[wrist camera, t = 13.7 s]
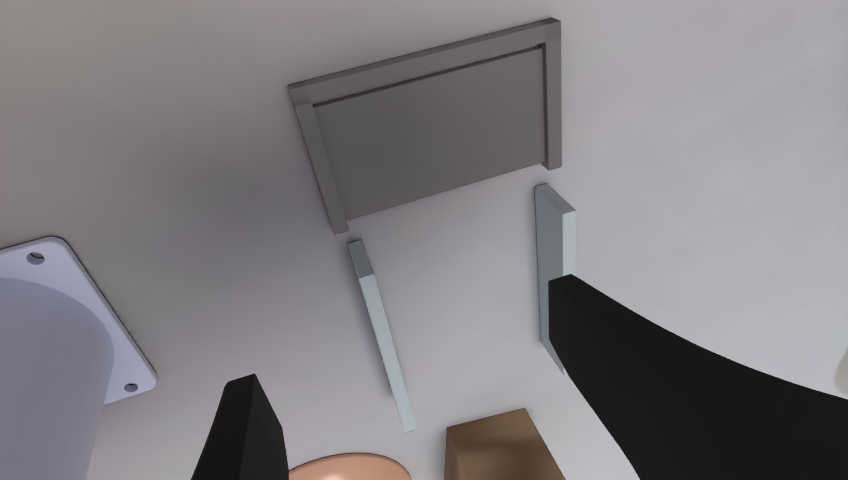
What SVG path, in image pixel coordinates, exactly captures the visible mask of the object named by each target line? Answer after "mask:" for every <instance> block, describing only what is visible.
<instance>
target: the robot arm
mask: <svg viewBox="0 0 848 480" xmlns="http://www.w3.org/2000/svg"><path fill="white" fill-rule="evenodd" d="M31 252H37V253H40V254H41V255H43V256H44V258H40V259H38V258H35V257H33V256H32V255H31V254H30V253H31ZM548 310H549V340H550V342H551V344H552V346H553V348H554V350H555V352H556V354H557V356H558V358H559V359H560V361H561V363H562V365H563V367H564V368H565V370H566V372H567V374H568V375H569V377H570V378H571V380H572V381H573V382H574V384H575V385H576V387H577V388H578V389H579V391H580V392H581V394H582V395H583V397H584V398H585V399H586V401H587V402H588V404H589V405H590V406H591V408H592V409H593V410H594V412H595V413H596V415H597V416H598V417H599V419H600V420H601V422H602V423H603V424H604V426H605V427H606V428H607V430H608V431H609V433H610V434H611V435H612V437H613V438H614V440H615V441H616V442H617V444H618V445H619V447H620V448H621V449H622V451H623V452H624V454H625V455H626V457H627V459H628V460H629V462H630V463H631V465H632V466H633V468H634V470H635V471H636V473H637V475H638V477H639V478H640V480H848V400H847V399H844V398H840V397H837V396H834V395H830V394H827V393H823V392H820V391H816V390H813V389H810V388H807V387H804V386H800V385H797V384H794V383H791V382H788V381H785V380H783V379H780V378H777V377H774V376H771V375H768V374H766V373H763V372H760V371H757V370H755V369H752V368H749V367H747V366H744V365H742V364H739V363H737V362H734V361H732V360H730V359H727V358H725V357H723V356H720V355H718V354H716V353H713V352H711V351H709V350H707V349H704V348H702V347H700V346H698V345H696V344H694V343H692V342H690V341H688V340H686V339H684V338H682V337H680V336H678V335H676V334H674V333H672V332H670V331H668V330H666V329H664V328H662V327H660V326H658V325H656V324H655V323H653V322H651V321H649V320H647V319H646V318H644V317H642V316H640V315H639V314H637V313H635V312H633V311H632V310H630V309H628V308H627V307H625V306H623V305H621V304H620V303H618V302H617V301H615V300H613V299H612V298H610V297H608V296H607V295H605V294H603V293H602V292H600V291H598V290H597V289H595V288H594V287H592V286H590V285H589V284H587V283H585V282H584V281H582V280H581V279H579V278H577V277H576V276H574V275H572V274H568V275H565V276H562V277H559V278H555V279H552V280H549V281H548ZM156 382H157V375H156V373H155V371H154V370H153V369H152V367H151V366H150V364H149V363H148V361H147V360H146V358H145V357H144V355H143V354H142V352H141V351H140V349H139V348H138V347H137V345H136V344H135V342H134V341H133V339H132V338H131V336H130V335H129V333H128V332H127V330H126V329H125V327H124V326H123V325H122V323H121V322H120V320H119V319H118V317H117V316H116V314H115V313H114V311H113V310H112V308H111V307H110V305H109V304H108V303H107V301H106V300H105V298H104V297H103V295H102V294H101V292H100V291H99V289H98V288H97V286H96V285H95V283H94V282H93V281H92V279H91V278H90V276H89V275H88V273H87V272H86V270H85V269H84V267H83V266H82V264H81V263H80V261H79V260H78V259H77V257H76V256H75V254H74V253H73V251H72V250H71V248H70V247H69V245H68V244H67V243H66V242H65V241H64V240H61V239H59V238H56V237H45V238H42V239H38V240H35V241H31V242H27V243H24V244H20V245H17V246H13V247H9V248H6V249H2V250H0V480H85V479H86V475H87V471H88V467H89V463H90V458H91V454H92V450H93V446H94V442H95V438H96V434H97V430H98V426H99V422H100V417H101V413H102V409H103V405H106V404H109V403H112V402H115V401H118V400H121V399H124V398H127V397H130V396H133V395H137V394H140V393H143V392H146V391H149V390H151V389H153V388H154V387H155V386H156ZM129 383H133V384H136V385H128V384H129ZM191 480H289V469H288V462H287V455H286V449H285V443H284V436H283V430H282V427H281V425H280V423H279V421H278V419H277V417H276V415H275V413H274V411H273V409H272V407H271V405H270V403H269V401H268V399H267V397H266V395H265V393H264V391H263V389H262V387H261V385H260V383H259V381H258V379H257V376H256V374H252V375H248V376H245V377H242V378H239V379H236V380H233V381H229V382H228V383H227V384H226V386H225V387H224V391H223V394H222V397H221V400H220V403H219V406H218V409H217V412H216V415H215V418H214V421H213V424H212V427H211V430H210V432H209V435H208V438H207V441H206V443H205V446H204V448H203V451H202V453H201V456H200V458H199V461H198V464H197V466H196V469H195V471H194V474H193V476H192V478H191Z"/></svg>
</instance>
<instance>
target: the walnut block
mask: <svg viewBox="0 0 848 480" xmlns="http://www.w3.org/2000/svg"><path fill="white" fill-rule="evenodd" d="M444 479H445V480H566V479H565V478H564V476H563V474H562V472H561V471H560V469H559V467H558V465H557V464H556V462H555V460H554V458H553V457H552V455H551V453H550V451H549V449H548V448H547V446H546V444H545V442H544V441H543V439H542V437H541V435H540V434H539V432H538V430H537V428H536V427H535V425H534V423H533V421H532V420H531V418H530V416H529V414H528V413H527V411H526V409H525V408H523V409H519V410H515V411H511V412H506V413H502V414H498V415H494V416H490V417H486V418H482V419H478V420H474V421H470V422H466V423H462V424H458V425H454V426H450V427H447V436H446V454H445V472H444Z"/></svg>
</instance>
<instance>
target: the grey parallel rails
mask: <svg viewBox="0 0 848 480" xmlns="http://www.w3.org/2000/svg"><path fill="white" fill-rule="evenodd" d="M535 207H536V232H537V256H538V281H539V305H540V330H541V343H542V344H543V346H544V347H545V349H546V350H547V352H548V353H549V354H550V356H551V357H552V359H553V360H554V362H555V363H556V365H557V366H558V368H559V369H560V370H561V372H562V373H563V375H565V374H567V372H566V370H565V368H564V367H563V365H562V363H561V361H560V359H559V358H558V356H557V354H556V352H555V350H554V348H553V346H552V344H551V342H550V340H549V310H548V281H549V280H552V279H555V278H559V277H562V276H565V275H568V274H572V275H574V276H575V254H576V210H575V209H574V208H573V207H572V206H571V205H570V204H569V203H568V202H567V201H565V200H564V199H563V198H562V197H561V196H560V195H559V194H558V193H557V192H556V191H555V190H554V189H553V188H551V187H550V186H549V185H548V184H547V183H546V184H543V185H540V186H537V187H535ZM348 247H349V250H350V254H351V257H352V260H353V264H354V267H355V270H356V274H357V277H358V280H359V284H360V287H361V290H362V294H363V297H364V300H365V304H366V307H367V310H368V314H369V317H370V320H371V324H372V327H373V330H374V334H375V337H376V340H377V344H378V347H379V351H380V354H381V357H382V361H383V364H384V367H385V371H386V374H387V377H388V381H389V384H390V387H391V391H392V394H393V397H394V400H395V403H396V406H397V409H398V413H399V416H400V419H401V422H402V425H403V428H404V431H405V433H406V432H409V431H412V430H414V429H417V428H416V425H415V421H414V417H413V414H412V410H411V406H410V403H409V399H408V395H407V392H406V388H405V384H404V381H403V377H402V374H401V370H400V366H399V363H398V359H397V355H396V352H395V348H394V344H393V341H392V337H391V333H390V330H389V326H388V323H387V319H386V315H385V312H384V308H383V304H382V301H381V297H380V293H379V290H378V286H377V282H376V279H375V275H374V272H373V269H372V267H371V264H370V261H369V259H368V256H367V253H366V251H365V248H364V246H363V243H362V240H359V241H356V242H353V243H349V244H348Z"/></svg>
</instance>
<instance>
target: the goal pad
mask: <svg viewBox="0 0 848 480" xmlns="http://www.w3.org/2000/svg"><path fill="white" fill-rule="evenodd" d="M289 480H411V478H410V475H409V473H408V472H407V471H406V469H405V468H404V467H403V466H402V465H400V464H399V463H397V462H396V461H394V460H392V459H389V458H387V457H384V456H380V455H375V454H367V453H352V454H341V455H334V456H330V457H325V458H321V459H318V460H315V461H312V462H309V463H306V464H304V465H301V466H299V467H296V468H294V469H293V470H291V471H289Z"/></svg>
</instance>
